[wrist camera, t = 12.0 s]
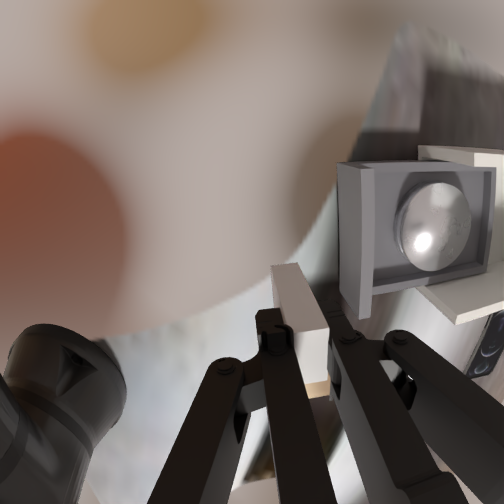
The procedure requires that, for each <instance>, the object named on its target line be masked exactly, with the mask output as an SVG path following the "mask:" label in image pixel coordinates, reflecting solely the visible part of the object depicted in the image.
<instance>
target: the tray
mask: <svg viewBox="0 0 504 504" xmlns="http://www.w3.org/2000/svg"><path fill="white" fill-rule="evenodd" d="M337 179H338V202H339V240H340V285H339V291H340V293H341V294H342V296H343V297H344V299H345V300H346V302H347V303H348V304H349V306H350V307H351V309H352V310H353V312H354V313H355V315H356V316H357V318H358V319H364V318H369V317H370V314H371V302H372V295H376V294H382V293H387V292H393V291H398V290H403V289H408V288H413V287H418V286H423V285H428V284H433V283H438V282H442V281H447V280H452V279H456V278H461V277H465V276H469V275H474V274H478V273H482V272H486V271H487V265H488V259H489V253H490V246H491V238H492V230H493V220H494V209H495V195H496V167H474V166H469V165H465V164H460V163H455V162H450V161H444V160H391V161H361V162H340V163H337ZM429 180H434V181H439V182H443V183H446V184H449V185H452V186H454V187H456V188H457V189H459V190H460V191H461V192H462V193H463V195H464V196H465V198H466V200H467V202H468V204H469V208H470V212H471V228H470V233H469V237H468V240H467V242H466V245H465V247H464V249H463V250H462V252H461V253H460V255H459V256H458V257H457V258H456V259H455V260H454V261H453V262H452V263H451V264H450V265H448V266H446V267H445V268H443V269H440V270H437V271H425V270H422V269H419V268H418V267H416V266H415V265H413V264H412V263H411V262H409V261H408V260H407V259H406V258H405V257H403V256H402V254H401V253H400V252H399V250H398V248H397V246H396V243H395V240H394V234H393V224H394V218H395V214H396V210H397V208H398V205H399V203H400V202H401V200H402V198H403V197H404V195H405V194H406V193H407V192H408V191H409V190H410V189H411V188H412V187H414V186H415V185H417V184H419V183H421V182H424V181H429Z"/></svg>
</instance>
